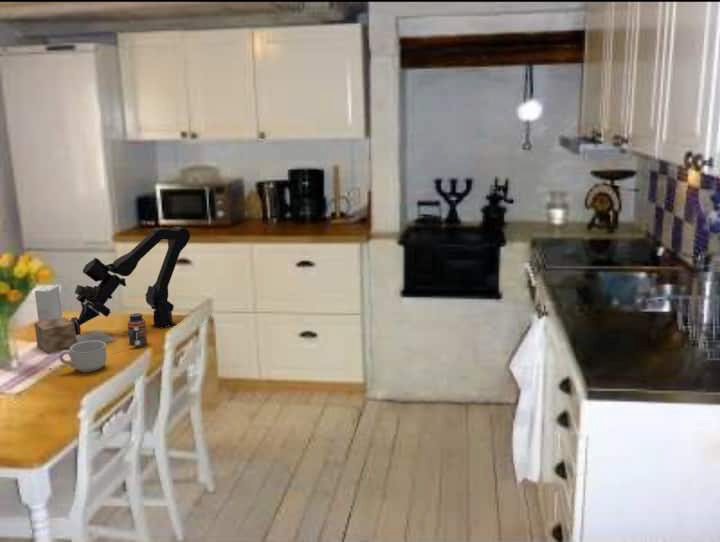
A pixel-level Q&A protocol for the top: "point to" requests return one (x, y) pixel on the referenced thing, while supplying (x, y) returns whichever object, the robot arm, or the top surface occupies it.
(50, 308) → the skincare box
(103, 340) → the slate board
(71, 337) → the press housing
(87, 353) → the teacup
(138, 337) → the supplement bottle
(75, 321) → the plunger
